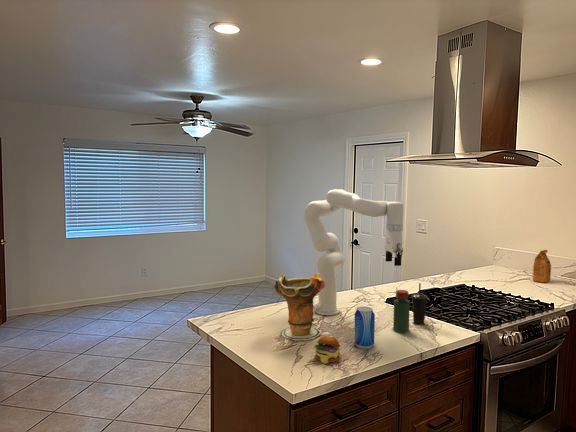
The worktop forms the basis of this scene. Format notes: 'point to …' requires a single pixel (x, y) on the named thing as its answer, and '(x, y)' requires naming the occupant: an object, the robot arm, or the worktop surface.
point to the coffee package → (542, 267)
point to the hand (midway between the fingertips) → (393, 263)
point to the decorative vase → (300, 305)
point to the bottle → (401, 315)
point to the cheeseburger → (327, 349)
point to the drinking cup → (419, 307)
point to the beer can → (364, 327)
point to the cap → (402, 294)
